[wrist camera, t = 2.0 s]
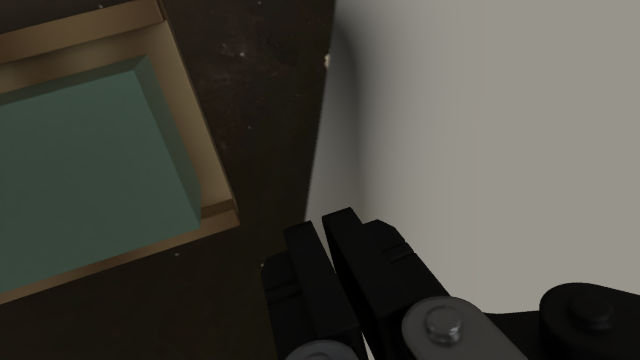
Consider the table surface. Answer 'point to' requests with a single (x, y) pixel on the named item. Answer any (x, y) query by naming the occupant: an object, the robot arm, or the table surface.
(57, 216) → the green rectangular block
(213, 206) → the tray
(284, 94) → the table surface
